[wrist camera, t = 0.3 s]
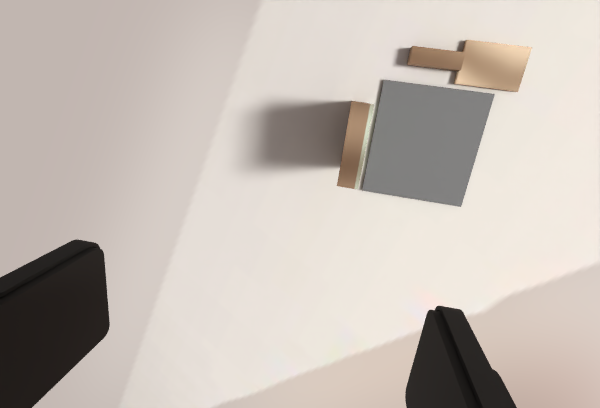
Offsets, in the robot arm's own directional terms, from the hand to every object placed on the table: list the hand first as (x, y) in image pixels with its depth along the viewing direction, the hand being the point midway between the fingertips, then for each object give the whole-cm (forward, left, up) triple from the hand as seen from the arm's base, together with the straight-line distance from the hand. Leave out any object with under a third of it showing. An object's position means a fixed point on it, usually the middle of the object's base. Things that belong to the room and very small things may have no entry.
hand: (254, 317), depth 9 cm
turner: (-11, +12, -30) cm, 35 cm away
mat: (-2, +10, -30) cm, 32 cm away
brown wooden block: (-2, +2, -30) cm, 30 cm away
